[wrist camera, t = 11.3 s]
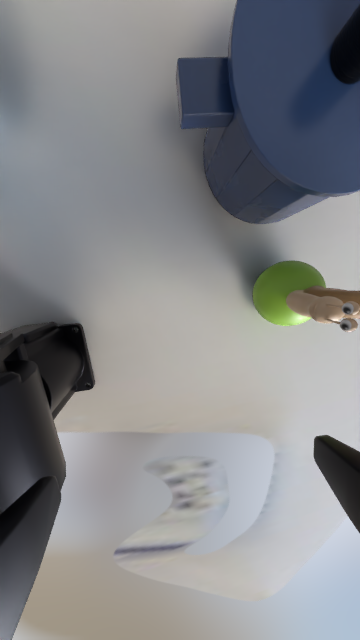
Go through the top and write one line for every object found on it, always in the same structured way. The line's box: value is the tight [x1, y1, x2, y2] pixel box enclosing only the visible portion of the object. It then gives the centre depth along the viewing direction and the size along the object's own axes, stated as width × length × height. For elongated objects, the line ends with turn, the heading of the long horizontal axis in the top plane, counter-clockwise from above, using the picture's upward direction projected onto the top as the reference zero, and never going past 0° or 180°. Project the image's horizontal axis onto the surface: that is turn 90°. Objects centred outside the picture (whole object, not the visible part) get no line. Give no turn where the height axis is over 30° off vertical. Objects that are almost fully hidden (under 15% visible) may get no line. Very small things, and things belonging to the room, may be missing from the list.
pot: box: [176, 57, 328, 224], centre depth 13 cm, size 11×16×7 cm, turn 96°
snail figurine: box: [253, 261, 360, 332], centre depth 14 cm, size 5×6×12 cm
